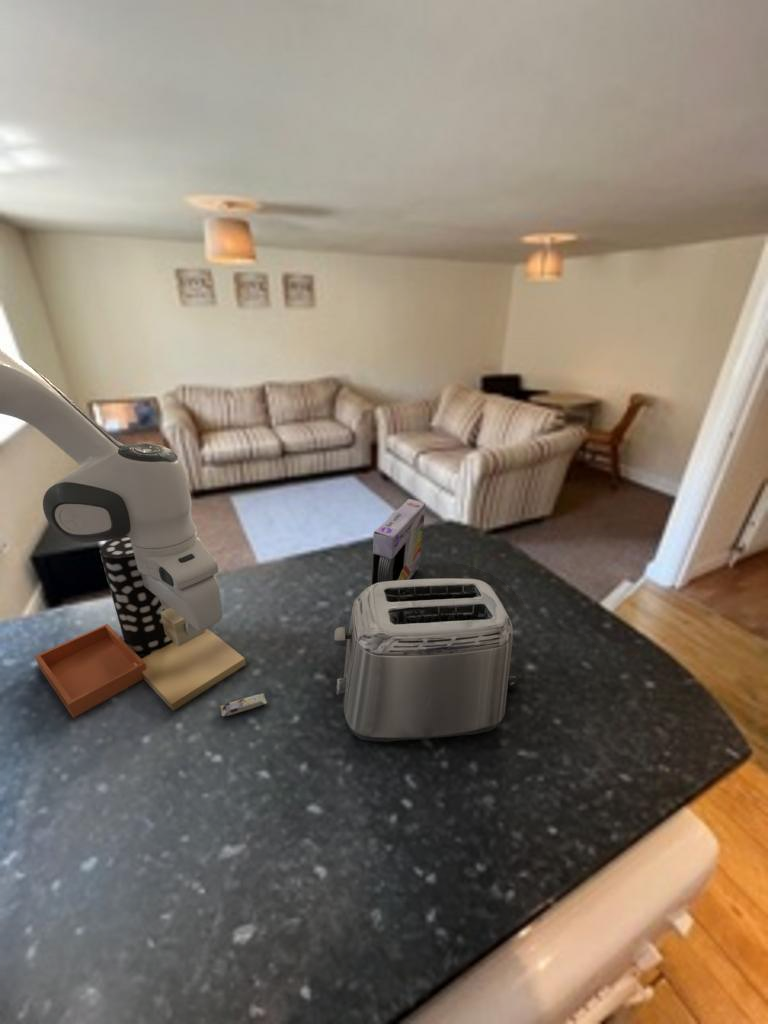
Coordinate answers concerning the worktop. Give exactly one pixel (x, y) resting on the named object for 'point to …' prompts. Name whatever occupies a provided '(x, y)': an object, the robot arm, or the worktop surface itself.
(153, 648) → the white-spotted black cylinder
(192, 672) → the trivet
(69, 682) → the orange-brown tray
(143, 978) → the worktop surface
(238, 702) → the granola bar
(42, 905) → the worktop surface
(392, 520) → the cake pan box
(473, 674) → the toaster
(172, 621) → the block
